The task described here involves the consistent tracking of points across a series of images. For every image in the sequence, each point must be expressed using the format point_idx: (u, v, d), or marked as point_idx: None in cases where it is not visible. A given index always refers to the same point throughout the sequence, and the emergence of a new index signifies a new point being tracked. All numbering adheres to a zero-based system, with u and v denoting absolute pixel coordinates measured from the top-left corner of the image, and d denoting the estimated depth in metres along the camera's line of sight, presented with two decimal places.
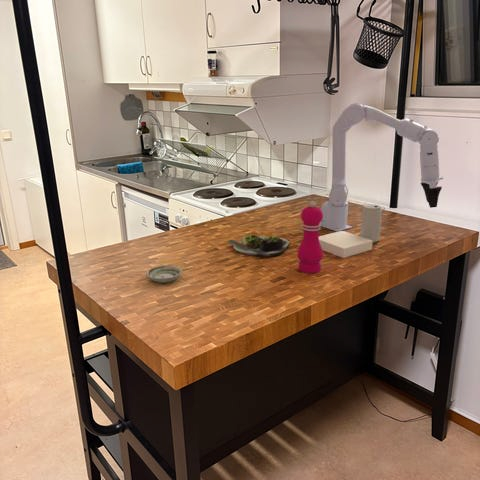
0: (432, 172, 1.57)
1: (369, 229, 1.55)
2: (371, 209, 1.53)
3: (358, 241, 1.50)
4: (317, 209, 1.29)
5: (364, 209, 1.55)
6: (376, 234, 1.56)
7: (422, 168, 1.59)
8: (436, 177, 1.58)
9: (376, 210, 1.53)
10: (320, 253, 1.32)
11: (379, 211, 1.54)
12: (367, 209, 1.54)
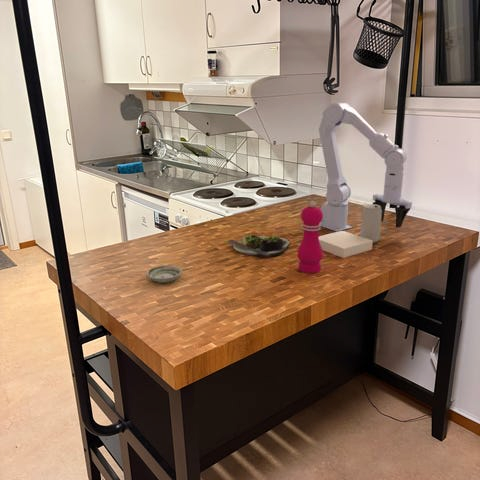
0: (400, 192, 1.58)
1: (369, 229, 1.55)
2: (371, 209, 1.53)
3: (358, 241, 1.50)
4: (317, 209, 1.29)
5: (364, 209, 1.55)
6: (376, 234, 1.56)
7: (391, 188, 1.57)
8: (400, 197, 1.60)
9: (376, 210, 1.53)
10: (320, 253, 1.32)
11: (379, 211, 1.54)
12: (367, 209, 1.54)
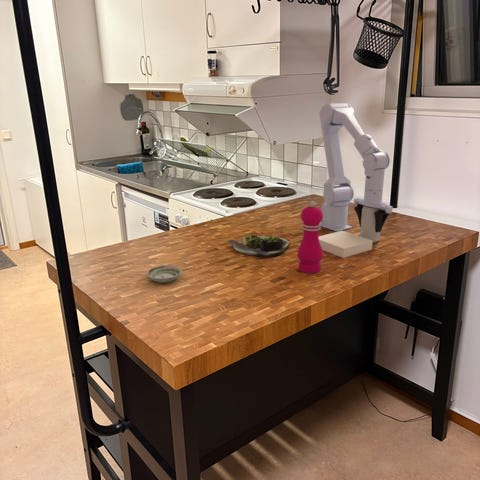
0: (381, 196, 1.53)
1: (369, 229, 1.55)
2: (371, 209, 1.53)
3: (358, 241, 1.50)
4: (317, 209, 1.29)
5: (364, 209, 1.55)
6: (376, 234, 1.56)
7: (372, 192, 1.52)
8: (381, 201, 1.54)
9: (376, 210, 1.53)
10: (320, 253, 1.32)
11: None
12: (367, 209, 1.54)
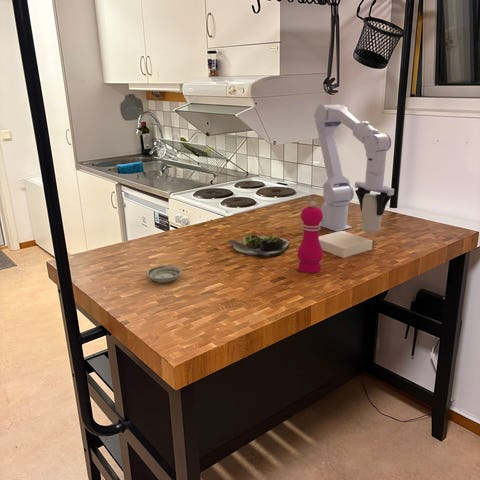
0: (382, 178, 1.51)
1: (370, 218, 1.54)
2: (372, 198, 1.52)
3: (358, 241, 1.50)
4: (317, 209, 1.29)
5: (365, 198, 1.54)
6: (377, 223, 1.55)
7: (373, 175, 1.50)
8: (383, 184, 1.53)
9: None
10: (320, 253, 1.32)
11: None
12: (368, 198, 1.53)
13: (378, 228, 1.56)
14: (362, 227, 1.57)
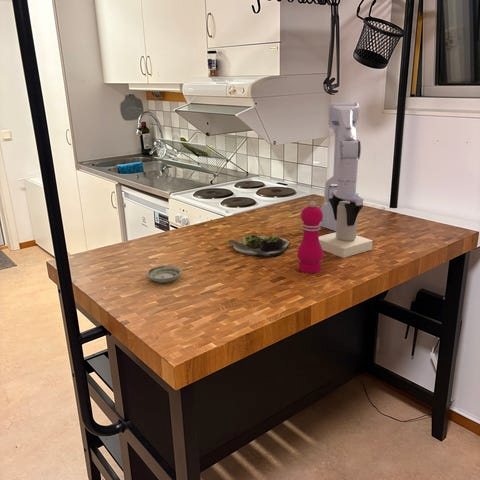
0: (353, 187, 1.44)
1: (343, 227, 1.48)
2: None
3: (358, 241, 1.50)
4: (317, 209, 1.29)
5: (339, 205, 1.48)
6: (350, 232, 1.48)
7: (343, 183, 1.43)
8: (355, 193, 1.45)
9: None
10: (320, 253, 1.32)
11: None
12: (341, 205, 1.47)
13: (352, 237, 1.49)
14: (336, 235, 1.51)
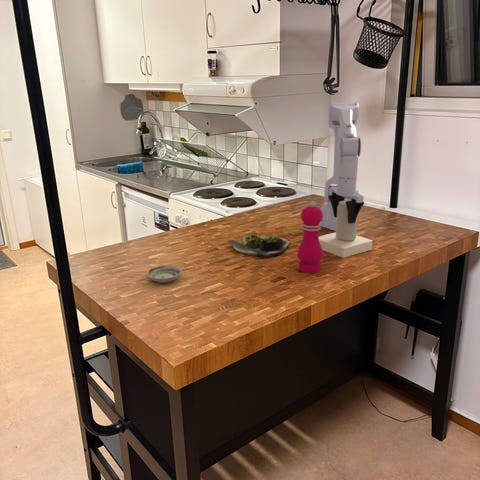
0: (353, 184, 1.44)
1: (343, 227, 1.48)
2: (345, 206, 1.46)
3: (358, 241, 1.50)
4: (317, 209, 1.29)
5: (339, 205, 1.48)
6: (350, 232, 1.48)
7: (343, 180, 1.43)
8: (355, 190, 1.45)
9: None
10: (320, 253, 1.32)
11: None
12: (341, 205, 1.47)
13: (352, 237, 1.49)
14: (336, 235, 1.51)
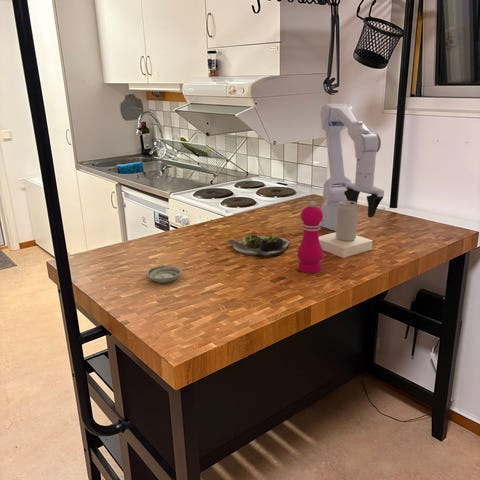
0: (372, 179, 1.48)
1: (343, 227, 1.48)
2: (345, 206, 1.46)
3: (358, 241, 1.50)
4: (317, 209, 1.29)
5: (339, 205, 1.48)
6: (350, 232, 1.48)
7: (363, 175, 1.47)
8: (373, 185, 1.50)
9: (350, 207, 1.46)
10: (320, 253, 1.32)
11: (354, 208, 1.46)
12: (341, 205, 1.47)
13: (352, 237, 1.49)
14: (336, 235, 1.51)
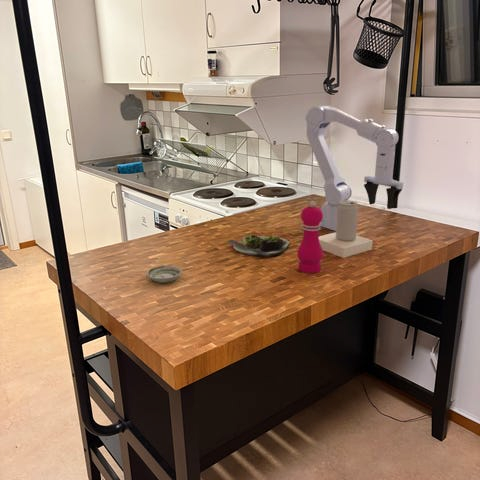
0: (391, 172, 1.56)
1: (343, 227, 1.48)
2: (345, 206, 1.46)
3: (358, 241, 1.50)
4: (317, 209, 1.29)
5: (339, 205, 1.48)
6: (350, 232, 1.48)
7: (383, 169, 1.55)
8: None
9: (350, 207, 1.46)
10: (320, 253, 1.32)
11: (354, 208, 1.46)
12: (341, 205, 1.47)
13: (352, 237, 1.49)
14: (336, 235, 1.51)
